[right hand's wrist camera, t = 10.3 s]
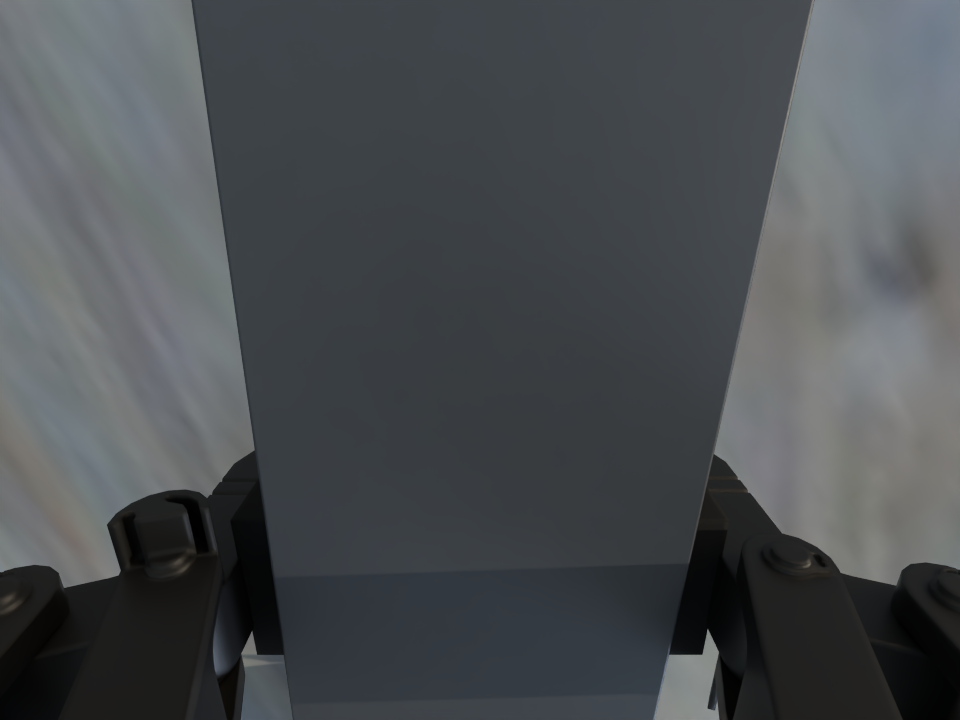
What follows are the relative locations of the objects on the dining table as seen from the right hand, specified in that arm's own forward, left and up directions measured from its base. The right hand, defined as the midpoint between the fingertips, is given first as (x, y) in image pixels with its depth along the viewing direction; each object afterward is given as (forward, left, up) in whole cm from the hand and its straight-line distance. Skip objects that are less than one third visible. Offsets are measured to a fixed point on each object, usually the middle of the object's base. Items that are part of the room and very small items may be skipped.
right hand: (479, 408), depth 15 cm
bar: (+23, +25, -1) cm, 34 cm away
